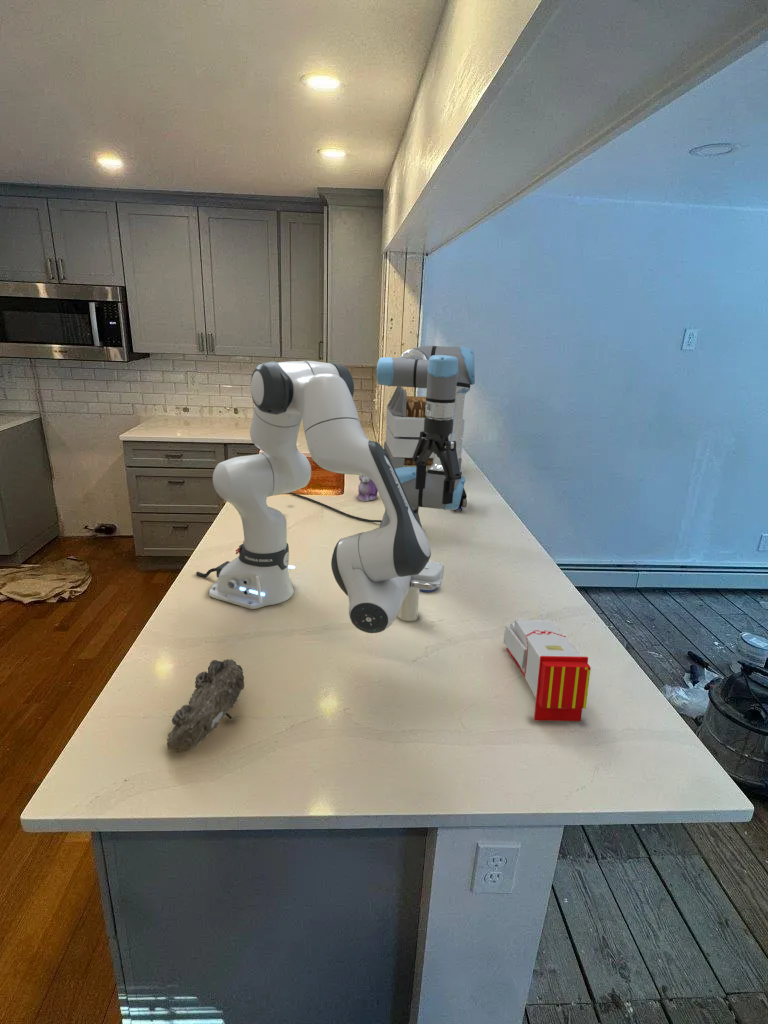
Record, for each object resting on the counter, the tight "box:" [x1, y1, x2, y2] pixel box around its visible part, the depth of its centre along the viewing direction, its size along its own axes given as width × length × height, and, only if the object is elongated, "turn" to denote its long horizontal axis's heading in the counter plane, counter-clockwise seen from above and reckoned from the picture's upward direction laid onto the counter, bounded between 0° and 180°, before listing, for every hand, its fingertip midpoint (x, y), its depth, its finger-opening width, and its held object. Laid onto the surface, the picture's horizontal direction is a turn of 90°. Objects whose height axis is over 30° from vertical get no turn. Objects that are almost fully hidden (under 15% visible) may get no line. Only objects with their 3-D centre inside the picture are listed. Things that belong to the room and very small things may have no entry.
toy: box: [503, 618, 592, 722], centre depth 122 cm, size 12×13×30 cm
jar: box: [397, 588, 420, 622], centre depth 144 cm, size 5×5×17 cm
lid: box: [419, 588, 438, 593], centre depth 162 cm, size 6×6×2 cm
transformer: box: [383, 386, 465, 470], centre depth 268 cm, size 34×33×41 cm
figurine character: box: [453, 487, 468, 512], centre depth 228 cm, size 7×8×15 cm
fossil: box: [166, 658, 245, 754], centre depth 106 cm, size 22×10×15 cm
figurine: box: [357, 475, 378, 502], centre depth 233 cm, size 9×10×15 cm
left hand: (403, 555), depth 128 cm, fingers open, 8 cm apart
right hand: (433, 495), depth 153 cm, fingers open, 13 cm apart
